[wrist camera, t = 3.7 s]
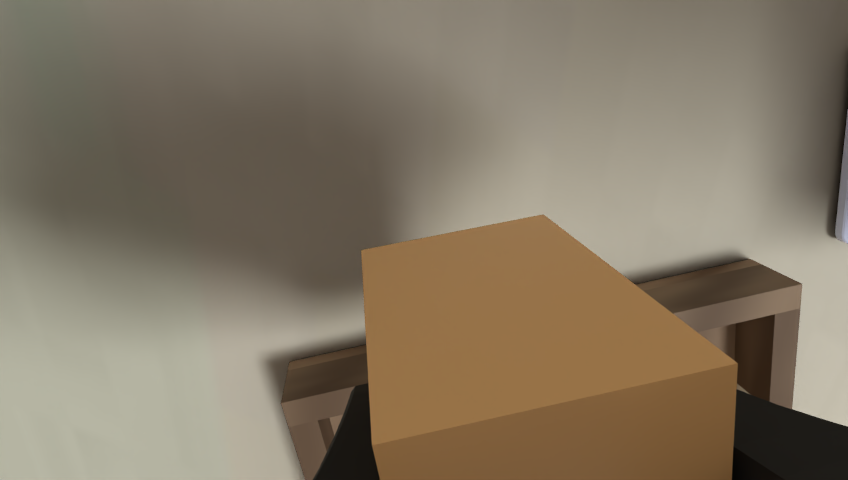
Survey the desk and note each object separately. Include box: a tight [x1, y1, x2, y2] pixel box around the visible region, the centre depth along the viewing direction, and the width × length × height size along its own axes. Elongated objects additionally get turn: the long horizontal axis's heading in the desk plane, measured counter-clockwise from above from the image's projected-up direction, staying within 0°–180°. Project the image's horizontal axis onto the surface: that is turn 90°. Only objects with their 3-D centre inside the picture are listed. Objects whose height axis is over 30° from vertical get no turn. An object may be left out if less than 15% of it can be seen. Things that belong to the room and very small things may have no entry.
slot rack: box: [281, 259, 802, 480], centre depth 21 cm, size 19×12×3 cm, turn 100°
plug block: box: [361, 215, 738, 480], centre depth 9 cm, size 4×6×6 cm, turn 9°
